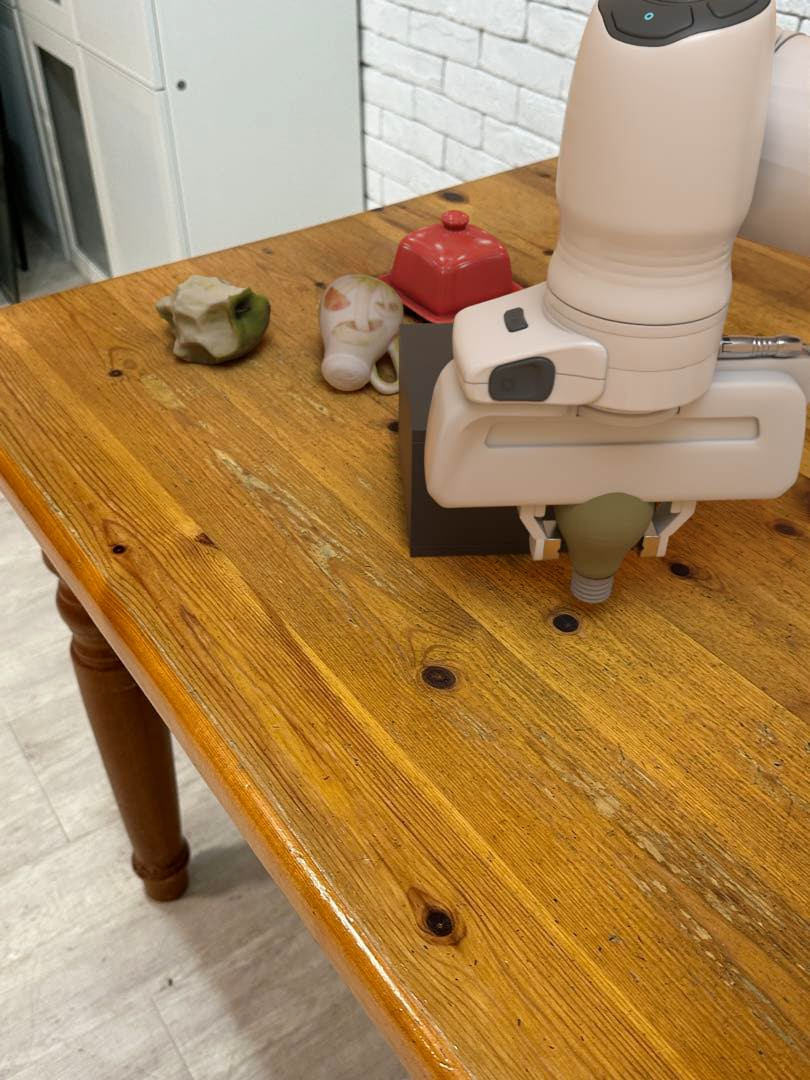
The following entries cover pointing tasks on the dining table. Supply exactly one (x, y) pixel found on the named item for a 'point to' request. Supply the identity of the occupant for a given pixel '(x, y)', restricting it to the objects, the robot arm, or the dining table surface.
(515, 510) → the cabinet
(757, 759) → the dining table surface
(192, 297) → the fruit
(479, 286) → the butter dish
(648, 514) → the light bulb
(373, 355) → the mug
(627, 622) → the dining table surface
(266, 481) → the dining table surface
